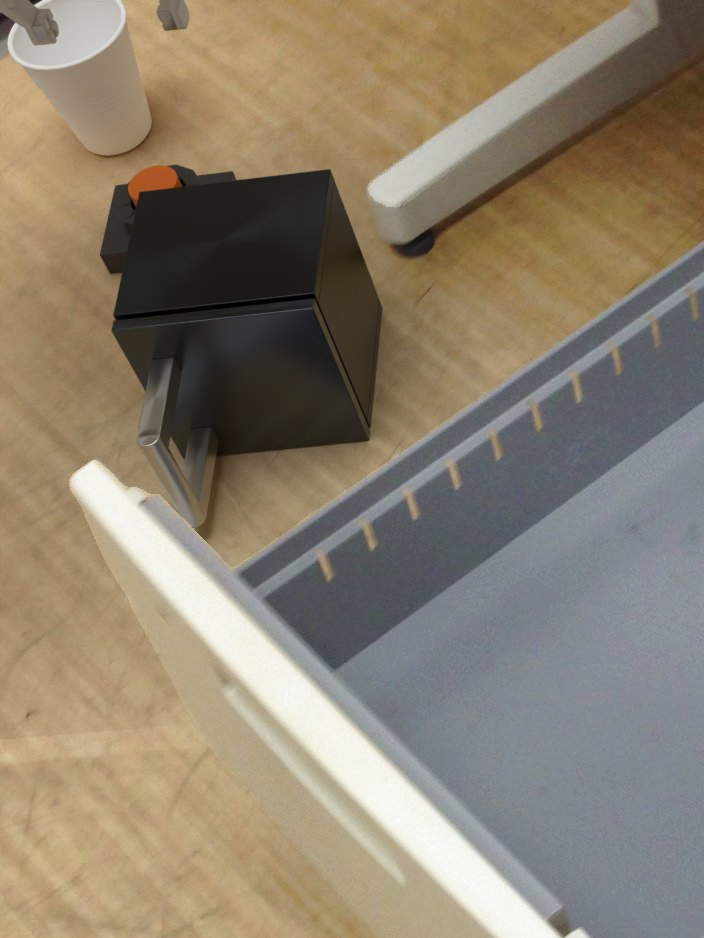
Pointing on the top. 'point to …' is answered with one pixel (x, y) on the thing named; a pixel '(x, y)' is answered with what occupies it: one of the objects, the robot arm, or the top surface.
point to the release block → (125, 211)
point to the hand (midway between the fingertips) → (112, 32)
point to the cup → (89, 73)
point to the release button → (153, 180)
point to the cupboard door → (235, 389)
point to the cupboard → (256, 259)
